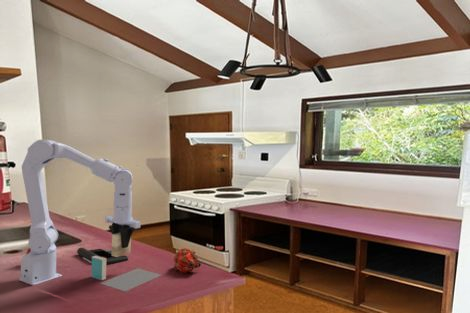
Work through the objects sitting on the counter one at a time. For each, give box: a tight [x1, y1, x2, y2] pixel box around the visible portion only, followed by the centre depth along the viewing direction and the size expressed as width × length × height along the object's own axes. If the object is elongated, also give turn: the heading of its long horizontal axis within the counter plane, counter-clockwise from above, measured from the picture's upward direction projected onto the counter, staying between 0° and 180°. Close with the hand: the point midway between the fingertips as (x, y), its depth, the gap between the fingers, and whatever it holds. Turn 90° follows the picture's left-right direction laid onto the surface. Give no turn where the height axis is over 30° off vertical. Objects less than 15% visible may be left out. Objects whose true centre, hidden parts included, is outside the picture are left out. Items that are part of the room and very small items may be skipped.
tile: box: [91, 256, 107, 281], centre depth 114 cm, size 2×5×7 cm, turn 61°
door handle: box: [75, 247, 129, 266], centre depth 136 cm, size 3×20×16 cm
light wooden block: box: [111, 233, 132, 257], centre depth 118 cm, size 6×2×7 cm, turn 150°
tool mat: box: [99, 268, 162, 293], centre depth 114 cm, size 16×11×1 cm
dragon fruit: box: [173, 247, 202, 275], centre depth 123 cm, size 8×8×12 cm
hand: (121, 246), depth 119 cm, fingers closed on light wooden block, 2 cm apart
